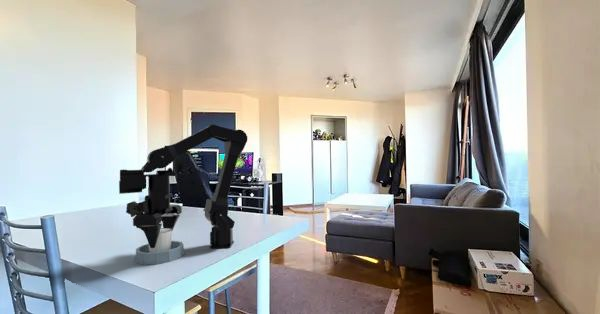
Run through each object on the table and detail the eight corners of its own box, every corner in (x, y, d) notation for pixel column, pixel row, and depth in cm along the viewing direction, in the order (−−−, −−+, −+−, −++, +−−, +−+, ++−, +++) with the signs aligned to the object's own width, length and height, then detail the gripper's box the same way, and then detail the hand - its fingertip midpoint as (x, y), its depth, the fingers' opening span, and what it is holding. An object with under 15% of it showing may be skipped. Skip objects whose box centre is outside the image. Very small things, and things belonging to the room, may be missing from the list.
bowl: (189, 249, 93) (189, 240, 93) (172, 263, 80) (172, 252, 80) (149, 250, 93) (149, 241, 93) (126, 264, 80) (126, 254, 80)
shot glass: (163, 258, 83) (162, 233, 83) (141, 257, 84) (141, 233, 84) (177, 250, 89) (177, 228, 89) (157, 249, 91) (157, 227, 91)
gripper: (148, 188, 96) (148, 235, 96) (112, 195, 77) (113, 254, 77) (181, 187, 96) (182, 234, 96) (154, 194, 78) (155, 253, 77)
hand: (160, 243), depth 87 cm, fingers open, 9 cm apart
